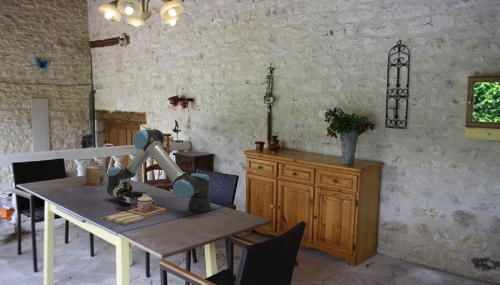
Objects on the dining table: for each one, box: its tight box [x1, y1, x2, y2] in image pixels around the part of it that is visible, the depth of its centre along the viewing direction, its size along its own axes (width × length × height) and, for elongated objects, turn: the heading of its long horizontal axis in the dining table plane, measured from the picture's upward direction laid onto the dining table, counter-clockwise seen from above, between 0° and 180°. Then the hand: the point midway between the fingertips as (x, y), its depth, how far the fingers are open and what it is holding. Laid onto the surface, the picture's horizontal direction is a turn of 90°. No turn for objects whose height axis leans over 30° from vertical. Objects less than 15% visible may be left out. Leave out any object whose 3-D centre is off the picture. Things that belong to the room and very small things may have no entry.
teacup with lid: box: [137, 193, 157, 214], centre depth 256 cm, size 12×9×12 cm
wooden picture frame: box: [126, 205, 167, 219], centre depth 257 cm, size 15×18×2 cm
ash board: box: [103, 211, 146, 226], centre depth 242 cm, size 18×15×2 cm
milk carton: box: [85, 159, 105, 187], centre depth 332 cm, size 11×11×19 cm
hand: (139, 198), depth 262 cm, fingers open, 13 cm apart
